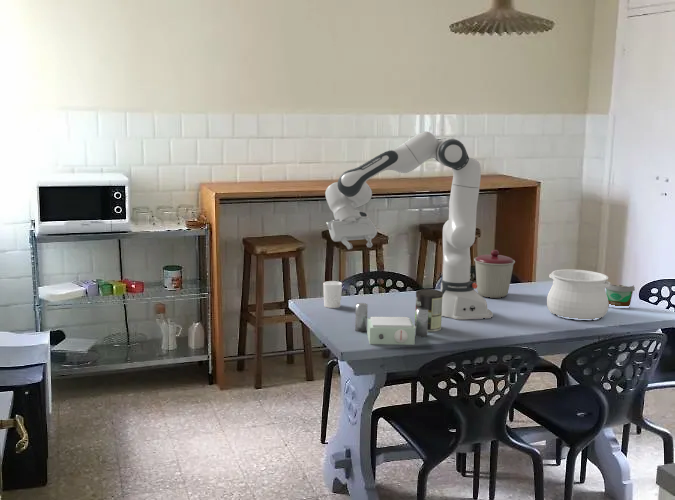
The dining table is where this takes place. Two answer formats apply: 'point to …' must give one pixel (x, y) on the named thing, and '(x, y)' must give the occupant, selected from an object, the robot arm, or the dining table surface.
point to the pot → (578, 294)
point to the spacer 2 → (421, 322)
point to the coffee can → (430, 307)
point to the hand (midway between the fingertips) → (360, 247)
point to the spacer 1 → (361, 317)
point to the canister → (493, 274)
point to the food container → (619, 295)
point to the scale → (390, 330)
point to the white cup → (332, 294)
